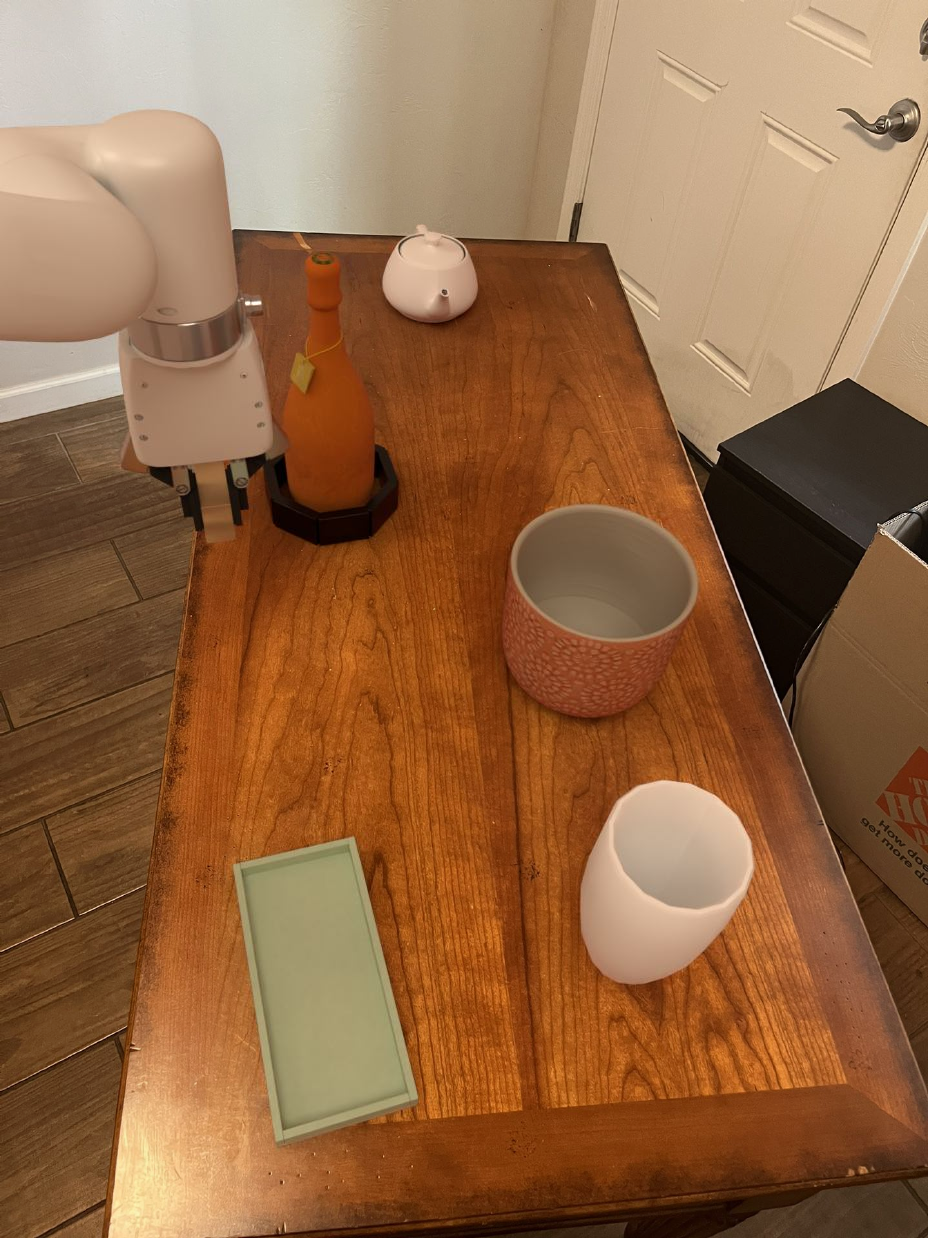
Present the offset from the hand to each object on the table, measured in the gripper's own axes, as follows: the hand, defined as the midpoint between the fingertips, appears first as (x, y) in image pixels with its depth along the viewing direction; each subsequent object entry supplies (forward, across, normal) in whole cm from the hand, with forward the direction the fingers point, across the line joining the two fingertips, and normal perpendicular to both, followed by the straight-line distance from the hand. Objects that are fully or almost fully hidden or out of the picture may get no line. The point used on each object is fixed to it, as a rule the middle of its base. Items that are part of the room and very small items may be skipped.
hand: (217, 515), depth 77 cm
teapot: (+21, -34, -60) cm, 72 cm away
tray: (+21, -2, +32) cm, 38 cm away
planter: (+21, -32, +7) cm, 39 cm away
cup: (+21, -25, +36) cm, 49 cm away
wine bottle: (+21, -13, -22) cm, 33 cm away
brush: (+2, -1, -8) cm, 8 cm away
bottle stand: (+21, -13, -22) cm, 33 cm away
